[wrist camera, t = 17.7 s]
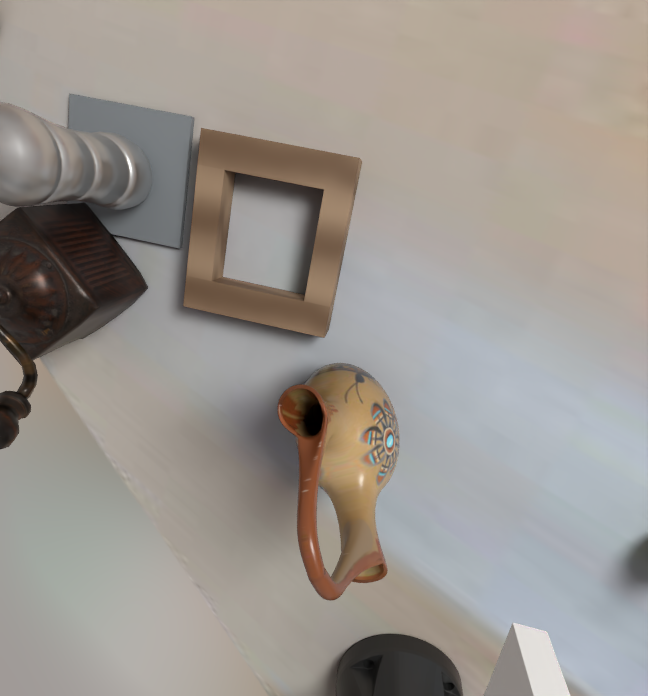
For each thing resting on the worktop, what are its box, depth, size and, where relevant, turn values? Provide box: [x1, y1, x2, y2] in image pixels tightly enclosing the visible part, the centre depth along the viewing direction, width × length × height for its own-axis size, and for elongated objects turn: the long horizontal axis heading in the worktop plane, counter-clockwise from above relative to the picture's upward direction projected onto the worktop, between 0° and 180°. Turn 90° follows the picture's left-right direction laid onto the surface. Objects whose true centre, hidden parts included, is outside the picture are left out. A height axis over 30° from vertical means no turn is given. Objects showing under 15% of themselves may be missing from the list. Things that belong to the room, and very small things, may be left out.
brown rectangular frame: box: [183, 128, 362, 338], centre depth 44 cm, size 16×14×3 cm
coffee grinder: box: [0, 202, 148, 449], centre depth 41 cm, size 16×11×18 cm
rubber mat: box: [67, 94, 194, 248], centre depth 46 cm, size 12×12×1 cm
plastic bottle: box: [0, 102, 152, 210], centre depth 36 cm, size 6×7×20 cm
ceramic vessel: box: [277, 363, 399, 600], centre depth 37 cm, size 16×9×25 cm, turn 20°
